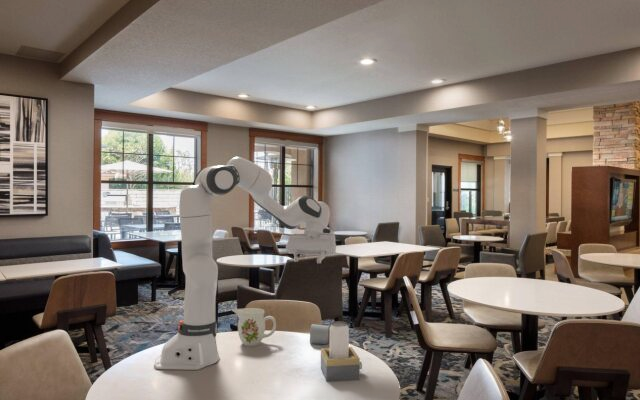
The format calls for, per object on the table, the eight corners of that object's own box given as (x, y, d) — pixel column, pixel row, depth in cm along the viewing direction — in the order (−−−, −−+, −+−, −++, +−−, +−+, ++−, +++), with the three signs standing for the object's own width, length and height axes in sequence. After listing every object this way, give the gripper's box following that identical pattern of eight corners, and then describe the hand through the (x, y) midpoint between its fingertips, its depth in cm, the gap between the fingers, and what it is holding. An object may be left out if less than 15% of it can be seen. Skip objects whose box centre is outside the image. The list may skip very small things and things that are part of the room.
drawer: (326, 381, 142) (326, 360, 142) (320, 368, 153) (320, 348, 153) (365, 379, 145) (365, 357, 145) (356, 366, 155) (357, 346, 155)
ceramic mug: (329, 346, 176) (330, 327, 176) (309, 346, 177) (309, 326, 177) (330, 338, 187) (330, 320, 187) (311, 338, 187) (311, 320, 187)
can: (349, 356, 151) (350, 321, 151) (346, 363, 145) (347, 327, 145) (331, 354, 153) (331, 320, 153) (327, 361, 147) (328, 325, 147)
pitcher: (275, 347, 175) (275, 312, 175) (229, 348, 173) (230, 313, 173) (276, 338, 186) (276, 306, 186) (233, 339, 184) (233, 306, 184)
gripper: (288, 228, 182) (280, 255, 172) (336, 230, 176) (330, 257, 167) (292, 238, 186) (283, 265, 177) (339, 240, 181) (333, 267, 171)
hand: (307, 261), depth 172 cm, fingers open, 8 cm apart
